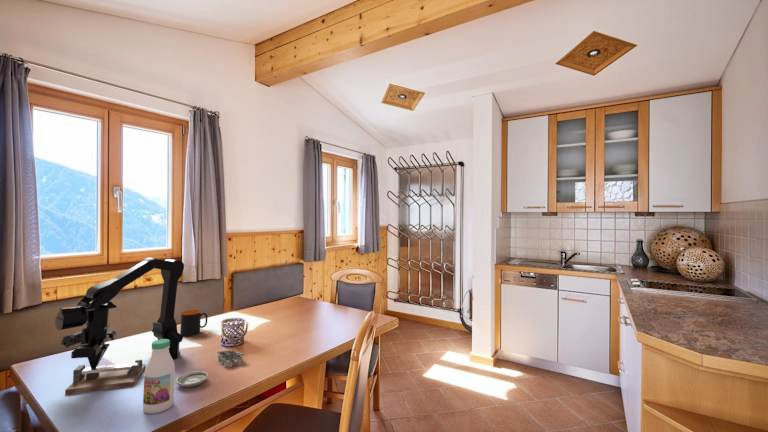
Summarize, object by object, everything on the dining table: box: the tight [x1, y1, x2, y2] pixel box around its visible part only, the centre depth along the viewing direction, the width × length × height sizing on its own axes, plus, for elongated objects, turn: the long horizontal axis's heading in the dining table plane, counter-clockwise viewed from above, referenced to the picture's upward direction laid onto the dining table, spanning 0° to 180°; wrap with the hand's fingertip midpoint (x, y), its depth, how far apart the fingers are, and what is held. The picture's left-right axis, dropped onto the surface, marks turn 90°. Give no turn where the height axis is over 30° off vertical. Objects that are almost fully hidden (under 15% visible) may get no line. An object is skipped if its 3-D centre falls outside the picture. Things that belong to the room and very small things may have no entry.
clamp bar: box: [82, 362, 140, 374], centre depth 116 cm, size 16×3×1 cm, turn 112°
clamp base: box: [64, 359, 147, 395], centre depth 116 cm, size 18×14×6 cm
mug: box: [179, 309, 208, 338], centre depth 164 cm, size 8×12×10 cm
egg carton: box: [216, 349, 244, 368], centre depth 134 cm, size 11×8×4 cm
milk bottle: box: [142, 339, 176, 415], centre depth 101 cm, size 8×8×20 cm
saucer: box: [175, 370, 209, 388], centre depth 116 cm, size 10×10×2 cm
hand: (93, 368), depth 114 cm, fingers closed, pressing on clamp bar
